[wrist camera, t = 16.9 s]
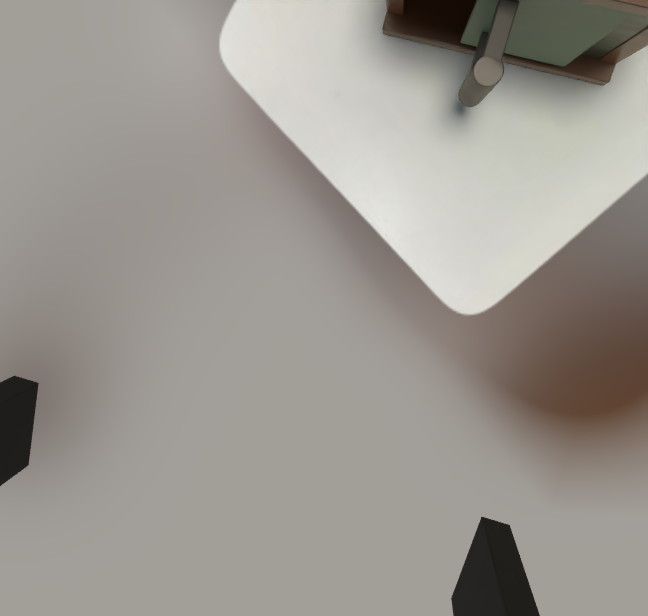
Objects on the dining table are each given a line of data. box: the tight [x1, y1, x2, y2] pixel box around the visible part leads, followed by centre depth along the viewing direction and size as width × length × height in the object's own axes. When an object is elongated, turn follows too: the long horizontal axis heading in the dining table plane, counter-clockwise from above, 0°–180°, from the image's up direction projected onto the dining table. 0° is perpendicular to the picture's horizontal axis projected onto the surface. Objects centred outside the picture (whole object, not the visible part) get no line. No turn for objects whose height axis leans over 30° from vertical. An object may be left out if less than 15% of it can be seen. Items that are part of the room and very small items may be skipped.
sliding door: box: [458, 0, 634, 107], centre depth 31 cm, size 5×7×11 cm
